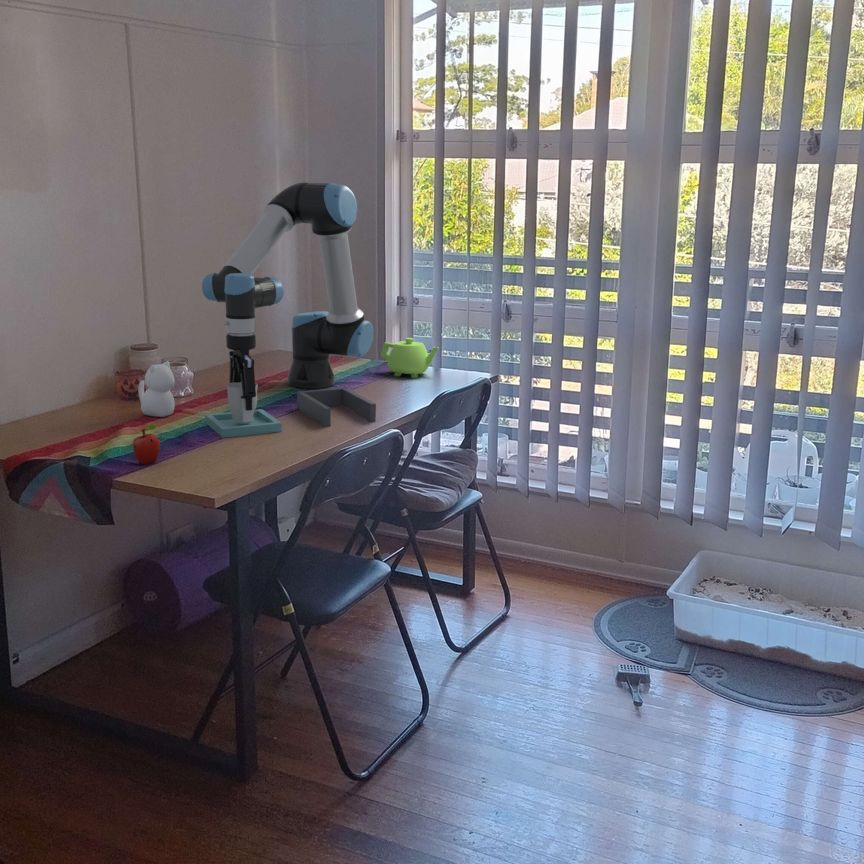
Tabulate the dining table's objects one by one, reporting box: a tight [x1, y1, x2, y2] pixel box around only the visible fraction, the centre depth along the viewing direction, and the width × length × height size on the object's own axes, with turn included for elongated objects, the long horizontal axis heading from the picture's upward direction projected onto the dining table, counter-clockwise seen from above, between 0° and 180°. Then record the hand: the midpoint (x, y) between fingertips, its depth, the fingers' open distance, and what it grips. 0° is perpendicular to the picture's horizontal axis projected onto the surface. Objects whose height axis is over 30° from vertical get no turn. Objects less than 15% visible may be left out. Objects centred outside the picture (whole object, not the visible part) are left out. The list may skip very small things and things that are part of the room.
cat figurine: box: [138, 360, 176, 418], centre depth 267 cm, size 9×12×15 cm
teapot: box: [380, 337, 440, 379], centre depth 327 cm, size 20×13×13 cm
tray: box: [204, 408, 283, 439], centre depth 259 cm, size 16×16×2 cm
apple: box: [132, 423, 161, 465], centre depth 225 cm, size 8×7×10 cm
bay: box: [296, 386, 377, 427], centre depth 274 cm, size 22×15×5 cm
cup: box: [226, 382, 259, 424], centre depth 257 cm, size 8×8×10 cm
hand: (243, 417), depth 258 cm, fingers open, 8 cm apart
